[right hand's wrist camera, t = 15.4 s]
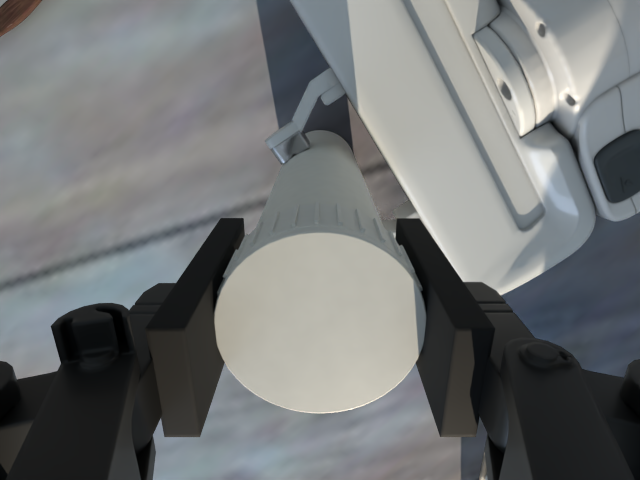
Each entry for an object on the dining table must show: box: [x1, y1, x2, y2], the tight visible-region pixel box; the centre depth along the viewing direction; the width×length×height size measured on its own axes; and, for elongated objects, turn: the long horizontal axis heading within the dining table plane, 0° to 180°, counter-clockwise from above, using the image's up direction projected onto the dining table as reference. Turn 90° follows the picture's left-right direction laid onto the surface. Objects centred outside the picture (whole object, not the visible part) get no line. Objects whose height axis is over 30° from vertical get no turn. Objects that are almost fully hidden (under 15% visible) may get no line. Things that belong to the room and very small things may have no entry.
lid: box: [214, 202, 426, 413], centre depth 11 cm, size 5×5×2 cm
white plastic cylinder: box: [258, 130, 384, 227], centre depth 20 cm, size 5×5×19 cm
